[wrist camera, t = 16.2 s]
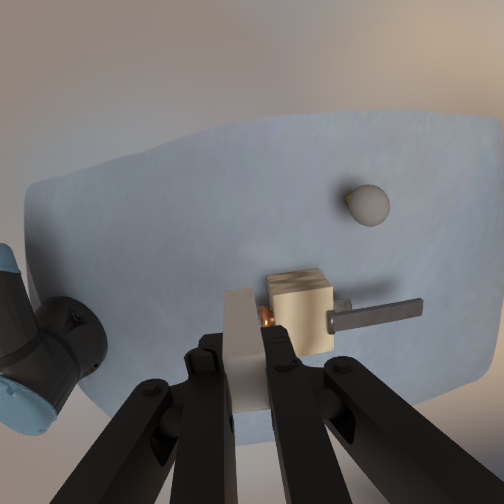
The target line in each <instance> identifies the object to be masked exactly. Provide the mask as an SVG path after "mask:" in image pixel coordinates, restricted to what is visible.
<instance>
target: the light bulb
mask: <svg viewBox="0 0 504 504" xmlns="http://www.w3.org/2000/svg"><path fill="white" fill-rule="evenodd" d="M346 203H347V205H348V206H349V209H350V213H351V215H352V216H353V218H354V219H355V220H356V221H357V222H358V223H360V224H362V225H364V226H368V227H372V226H376V225H379V224H381V223H382V222H383V221H384V220H385V219H386V218H387V216H388V214H389V211H390V202H389V198H388V196H387V195H386V193H385V192H384V191H383V190H382V189H381V188H379V187H377V186H374V185H363V186H361V187H359V188H357V189H356V190H355V191H354V192H353V193H351V194H348V195H347V197H346Z"/></svg>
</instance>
